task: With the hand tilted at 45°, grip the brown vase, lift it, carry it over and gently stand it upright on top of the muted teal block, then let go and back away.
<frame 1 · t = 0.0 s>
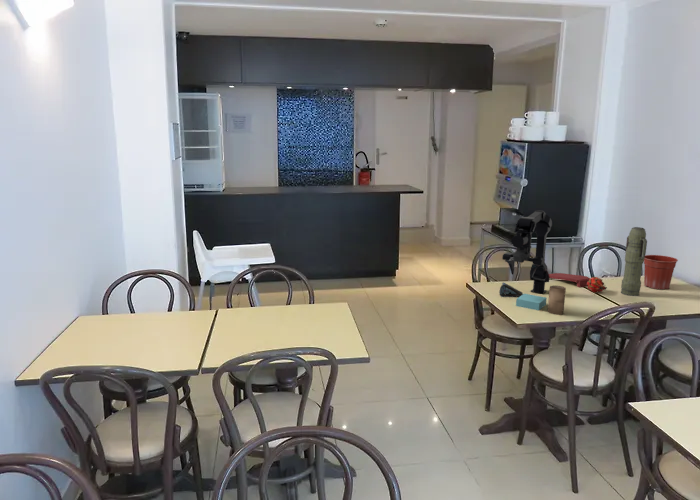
hand: (521, 276, 261), 15 cm above the table, tool pointing down, fingers open, 9 cm apart
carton: (567, 281, 309), on the table
brown vase: (555, 312, 255), on the table
flower pot: (656, 286, 299), on the table
base block: (530, 306, 265), on the table
thermos: (629, 293, 285), on the table
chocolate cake: (509, 296, 281), on the table
dragon fruit: (595, 292, 288), on the table
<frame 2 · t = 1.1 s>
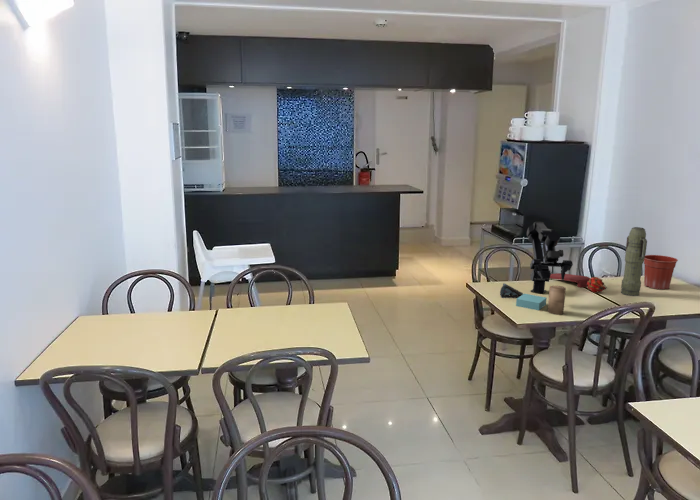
hand: (553, 280, 260), 13 cm above the table, tool tilted 45°, fingers open, 9 cm apart
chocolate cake: (510, 296, 279), on the table
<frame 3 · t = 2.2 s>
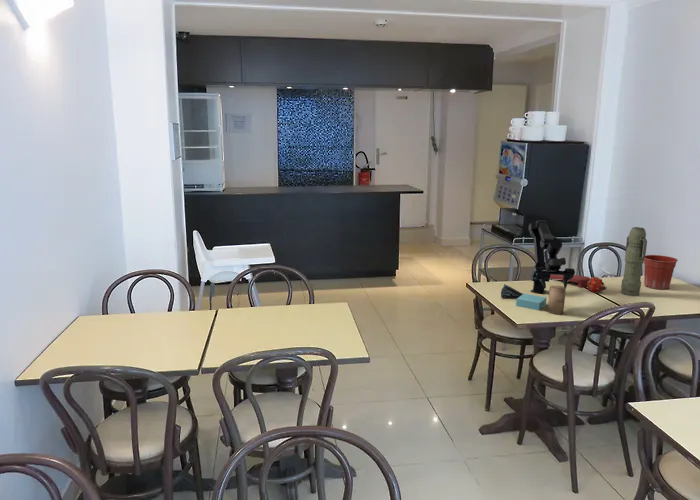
hand: (555, 288, 256), 11 cm above the table, tool tilted 45°, fingers open, 9 cm apart
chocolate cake: (511, 297, 278), on the table
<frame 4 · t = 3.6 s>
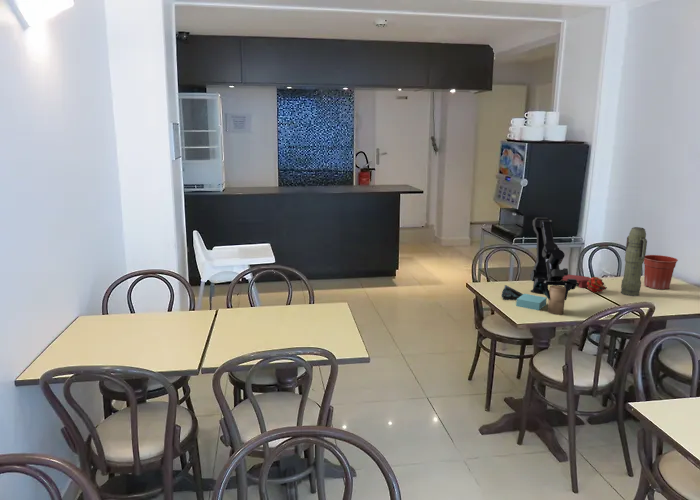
hand: (557, 299, 252), 7 cm above the table, tool tilted 45°, fingers closed on brown vase, 7 cm apart
brown vase: (555, 312, 255), on the table, touching gripper
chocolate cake: (511, 298, 276), on the table
when the fingers open (11 cm above the table, at t = 8.1 s): brown vase moves 1 cm, point 4 cm above the table.
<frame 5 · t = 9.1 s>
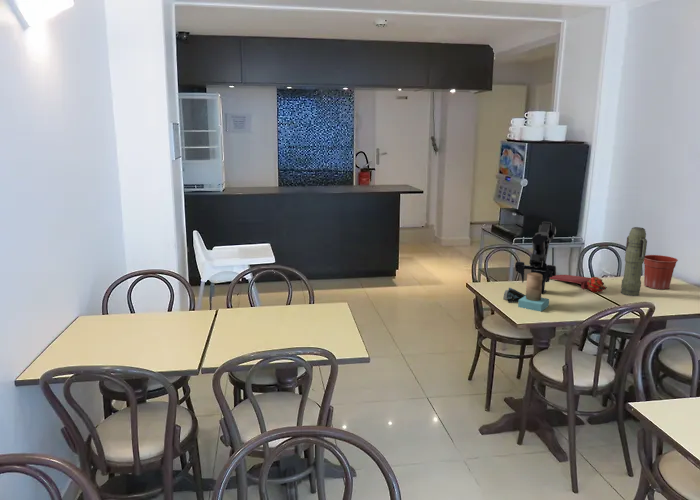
hand: (532, 283, 261), 11 cm above the table, tool tilted 45°, fingers open, 9 cm apart
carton: (572, 283, 305), on the table
brown vase: (533, 298, 263), point 4 cm above the table
base block: (533, 307, 263), on the table, touching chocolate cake
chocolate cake: (513, 300, 273), on the table, touching base block
everything else where it was.
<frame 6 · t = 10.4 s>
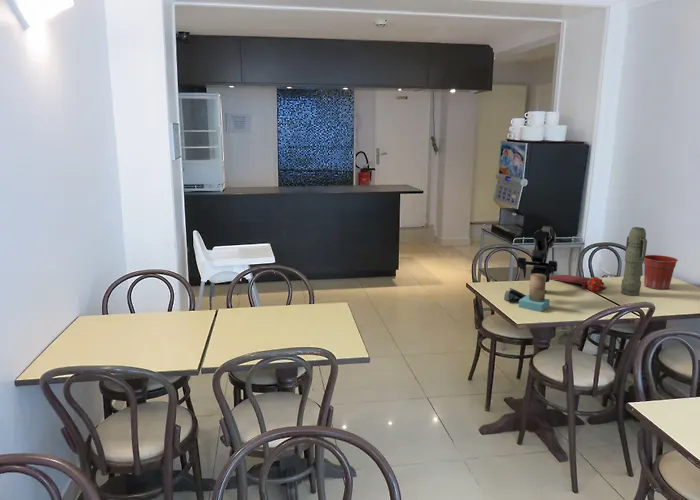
hand: (534, 278, 265), 13 cm above the table, tool tilted 45°, fingers open, 9 cm apart
brown vase: (536, 299, 262), point 4 cm above the table, touching base block
base block: (533, 307, 263), on the table, touching brown vase
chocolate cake: (514, 301, 272), on the table
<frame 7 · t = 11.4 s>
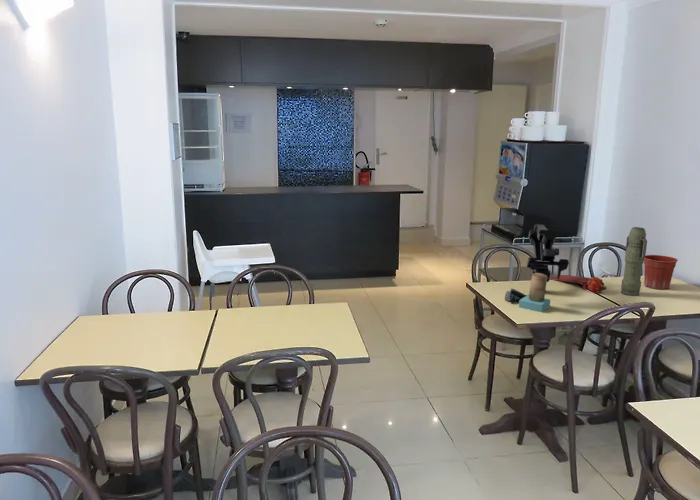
hand: (548, 278, 262), 14 cm above the table, tool tilted 45°, fingers open, 9 cm apart
brown vase: (536, 298, 262), point 4 cm above the table, tilted 7°, touching base block
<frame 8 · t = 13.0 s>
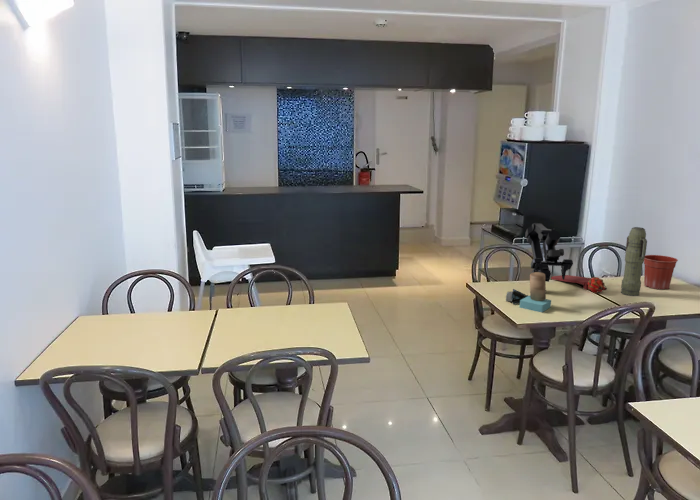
hand: (553, 279, 261), 14 cm above the table, tool tilted 45°, fingers open, 9 cm apart
brown vase: (538, 297, 263), point 4 cm above the table, tilted 10°, touching base block
at the end: brown vase inside the target area on the base block (2.5 cm from its centre), point 4.6 cm above the base block's base; brown vase tilted 10°; the gripper is holding nothing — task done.
